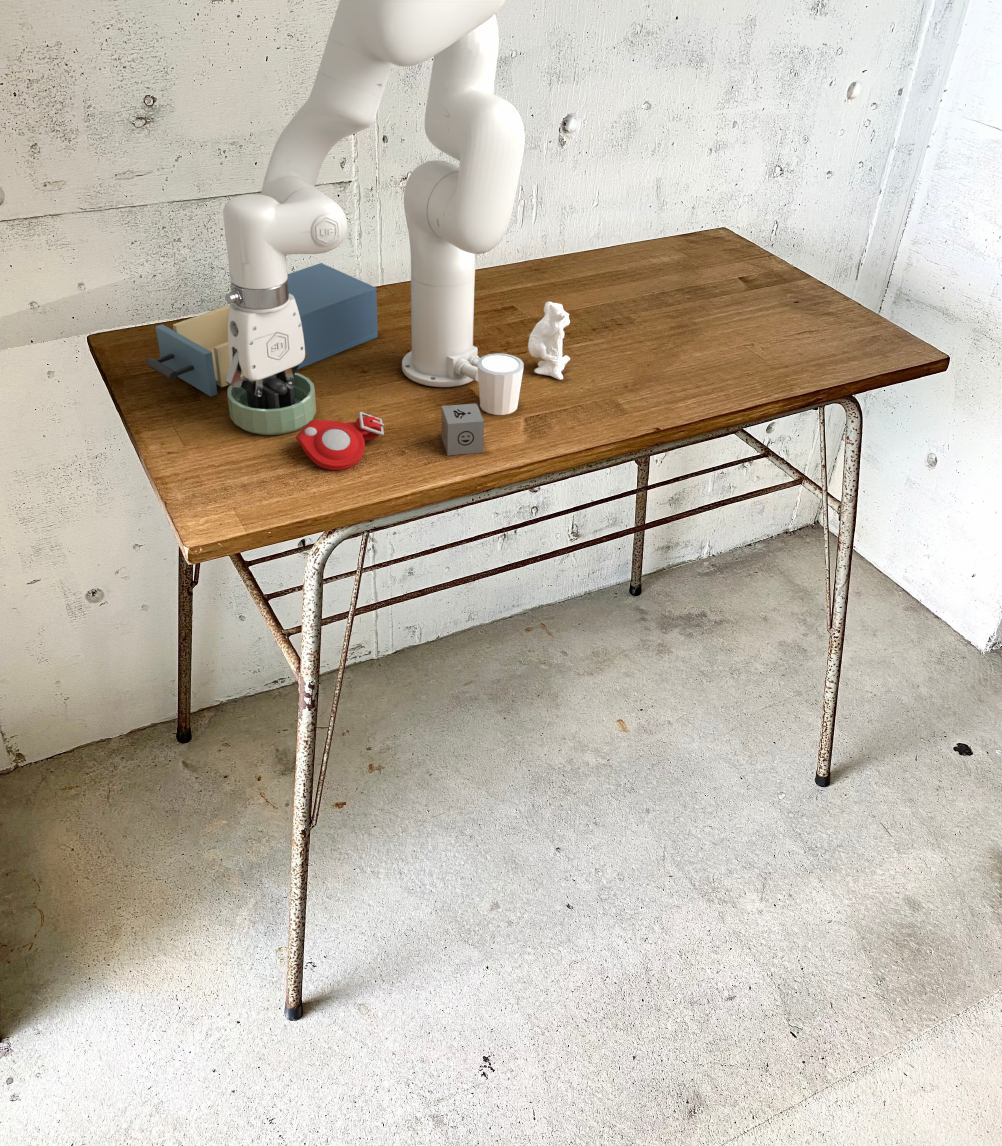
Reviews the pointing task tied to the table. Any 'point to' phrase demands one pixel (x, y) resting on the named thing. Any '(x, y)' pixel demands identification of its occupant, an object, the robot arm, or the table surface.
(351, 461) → the tracker holder
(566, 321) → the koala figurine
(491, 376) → the white faceted cup
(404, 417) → the table surface
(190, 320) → the drawer
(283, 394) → the grey roller rack
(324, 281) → the cabinet
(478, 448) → the dice cube
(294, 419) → the bowl
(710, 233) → the table surface
